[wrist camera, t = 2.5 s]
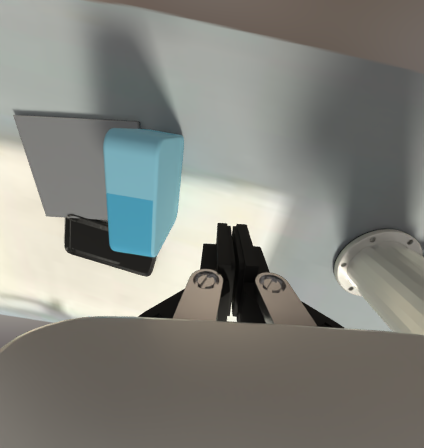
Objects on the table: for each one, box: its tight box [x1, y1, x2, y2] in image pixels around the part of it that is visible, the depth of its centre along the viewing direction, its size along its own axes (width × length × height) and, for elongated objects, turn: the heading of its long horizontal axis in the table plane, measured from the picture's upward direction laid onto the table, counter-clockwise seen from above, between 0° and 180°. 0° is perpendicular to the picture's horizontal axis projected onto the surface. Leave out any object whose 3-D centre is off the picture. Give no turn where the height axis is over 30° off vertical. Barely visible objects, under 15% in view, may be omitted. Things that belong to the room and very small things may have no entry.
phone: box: [65, 214, 157, 276], centre depth 34 cm, size 8×1×15 cm
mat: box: [13, 115, 140, 220], centre depth 28 cm, size 16×14×1 cm
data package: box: [103, 128, 184, 257], centre depth 23 cm, size 12×4×12 cm, turn 171°
